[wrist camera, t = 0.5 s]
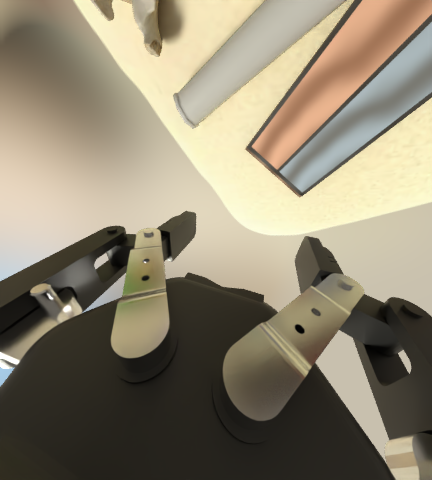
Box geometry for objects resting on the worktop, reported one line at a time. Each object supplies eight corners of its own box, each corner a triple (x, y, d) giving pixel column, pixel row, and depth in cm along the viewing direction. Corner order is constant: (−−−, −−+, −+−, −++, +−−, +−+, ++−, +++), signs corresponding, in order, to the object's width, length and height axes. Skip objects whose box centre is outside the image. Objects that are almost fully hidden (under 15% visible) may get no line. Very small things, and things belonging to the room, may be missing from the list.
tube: (405, -181, 11) (168, 89, 24) (413, -76, 12) (184, 126, 25) (372, -82, 15) (187, 100, 28) (381, -13, 16) (200, 131, 29)
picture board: (246, 147, 30) (245, 149, 29) (574, -299, 9) (601, -333, 9) (299, 195, 33) (299, 197, 33) (621, -56, 13) (643, -65, 12)
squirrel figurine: (193, 23, 20) (127, 38, 17) (177, 63, 26) (124, 81, 22) (148, -87, 17) (51, -96, 13) (139, -13, 22) (68, -6, 18)
